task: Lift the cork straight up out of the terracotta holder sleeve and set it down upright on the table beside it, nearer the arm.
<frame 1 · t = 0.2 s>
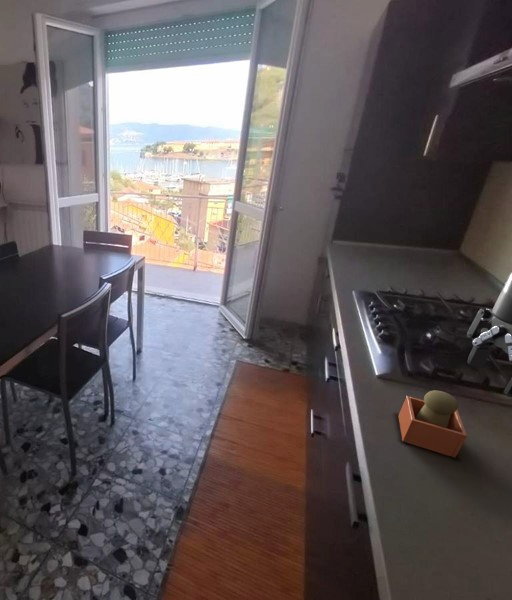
hand: (492, 379, 61), 21 cm above the worktop, tool pointing down, fingers open, 8 cm apart
cork: (424, 436, 77), resting in holder
holder: (424, 435, 77), on the worktop
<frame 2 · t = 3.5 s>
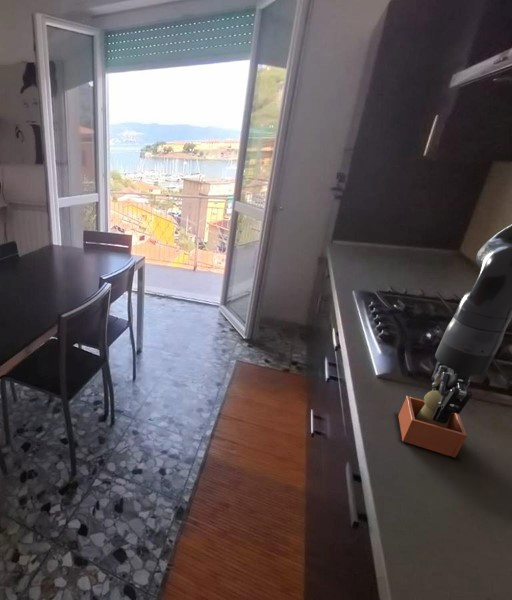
hand: (436, 411, 74), 7 cm above the worktop, tool pointing down, fingers closed on cork, 5 cm apart
cork: (424, 436, 77), resting in holder, touching gripper
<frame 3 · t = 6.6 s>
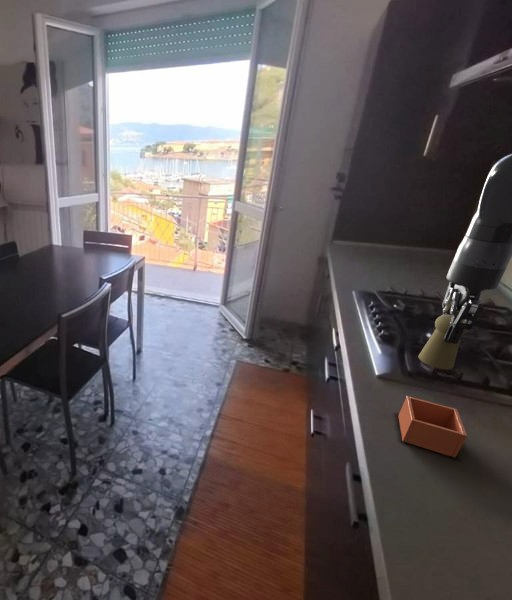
hand: (447, 335, 76), 20 cm above the worktop, tool pointing down, fingers closed on cork, 5 cm apart
cork: (435, 361, 79), point 13 cm above the worktop, touching gripper
when the fingers open (7 cm above the worktop, at t = 10.1 s): cork stays where it is, on the worktop.
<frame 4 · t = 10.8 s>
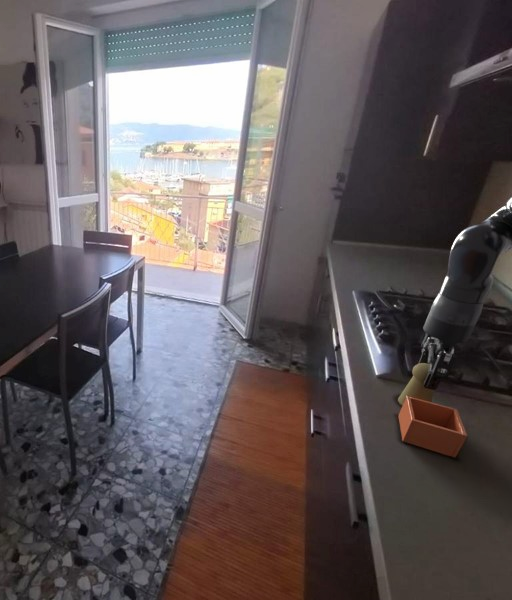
hand: (425, 377, 82), 8 cm above the worktop, tool pointing down, fingers open, 8 cm apart
cork: (413, 405, 86), on the worktop
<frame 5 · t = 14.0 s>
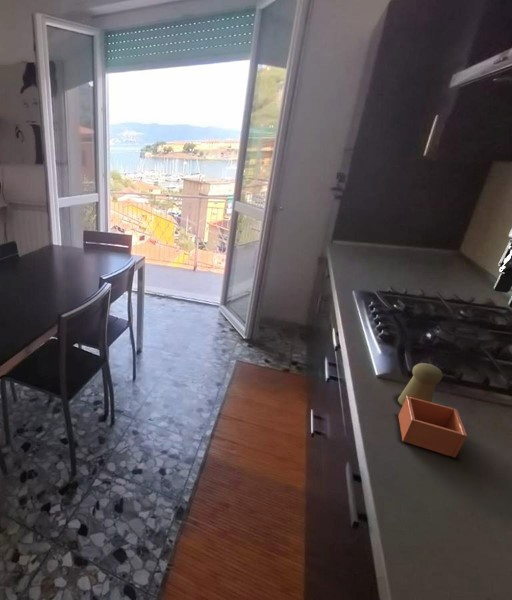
hand: (507, 299, 69), 30 cm above the worktop, tool pointing down, fingers open, 8 cm apart
nothing on the worktop moved.
at the end: cork inside the target area (0.1 cm from its centre), on the worktop; cork tilted 0°; the gripper is holding nothing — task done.
